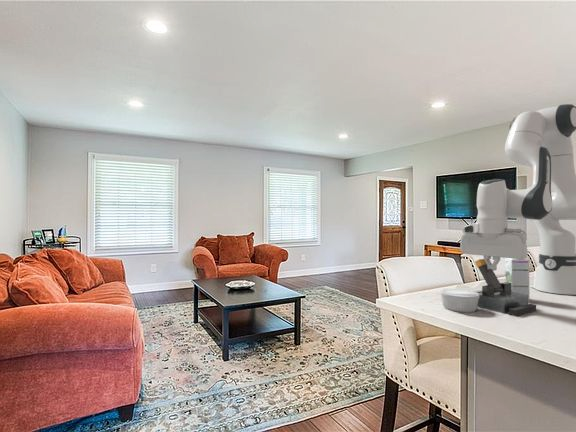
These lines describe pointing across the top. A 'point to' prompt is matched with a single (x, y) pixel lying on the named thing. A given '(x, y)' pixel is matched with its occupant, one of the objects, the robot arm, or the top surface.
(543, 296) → the top surface
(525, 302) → the stepped grey base plate
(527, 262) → the syrup box
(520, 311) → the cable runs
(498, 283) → the lever
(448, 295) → the ramekin
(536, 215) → the robot arm
